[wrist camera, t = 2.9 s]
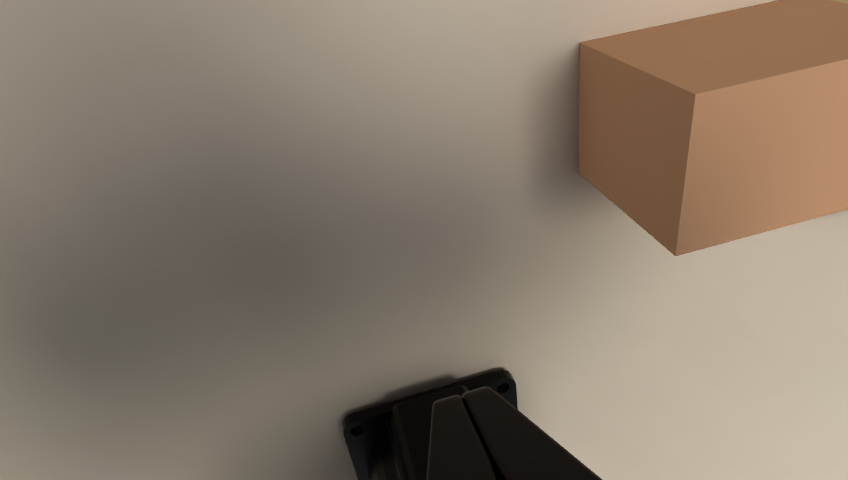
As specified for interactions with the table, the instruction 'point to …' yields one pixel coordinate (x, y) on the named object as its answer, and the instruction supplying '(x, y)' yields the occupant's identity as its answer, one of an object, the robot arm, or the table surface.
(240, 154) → the table surface
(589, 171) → the plug block
